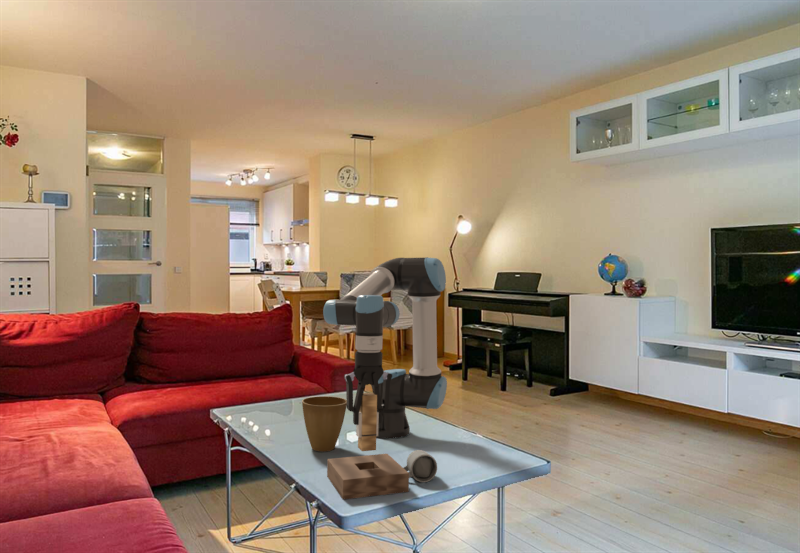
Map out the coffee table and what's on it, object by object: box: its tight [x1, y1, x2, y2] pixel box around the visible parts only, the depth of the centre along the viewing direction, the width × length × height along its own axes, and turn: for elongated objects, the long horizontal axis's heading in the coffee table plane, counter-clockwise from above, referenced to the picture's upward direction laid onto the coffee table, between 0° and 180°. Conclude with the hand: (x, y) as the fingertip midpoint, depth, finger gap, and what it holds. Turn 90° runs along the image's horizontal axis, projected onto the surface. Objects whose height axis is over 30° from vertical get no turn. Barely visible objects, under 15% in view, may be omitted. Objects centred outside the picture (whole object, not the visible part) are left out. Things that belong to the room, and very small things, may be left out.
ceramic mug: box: [403, 449, 438, 483], centre depth 164 cm, size 11×8×8 cm
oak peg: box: [357, 392, 377, 452], centre depth 159 cm, size 4×4×15 cm
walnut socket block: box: [326, 453, 410, 500], centre depth 159 cm, size 18×18×5 cm
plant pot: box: [301, 395, 347, 452], centre depth 191 cm, size 15×15×16 cm
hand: (367, 435), depth 158 cm, fingers closed on oak peg, 4 cm apart
